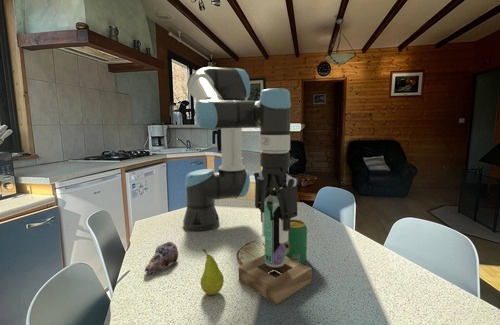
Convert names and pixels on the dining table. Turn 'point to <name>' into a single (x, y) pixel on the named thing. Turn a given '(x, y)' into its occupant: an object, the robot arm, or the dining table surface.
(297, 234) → the beverage can
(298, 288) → the hole block
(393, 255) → the dining table surface
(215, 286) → the fruit
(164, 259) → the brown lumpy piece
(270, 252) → the spray can
